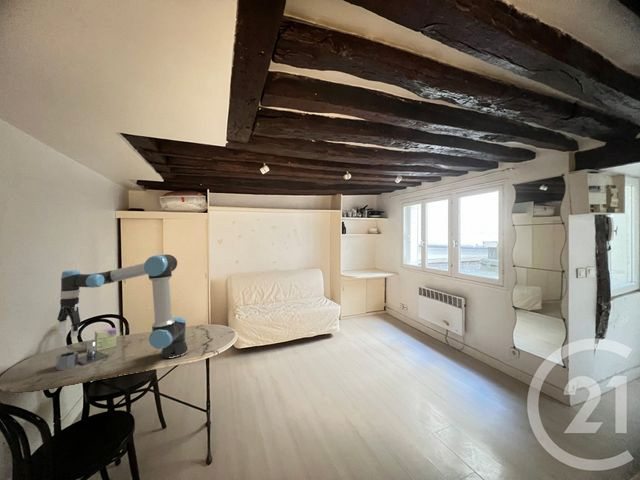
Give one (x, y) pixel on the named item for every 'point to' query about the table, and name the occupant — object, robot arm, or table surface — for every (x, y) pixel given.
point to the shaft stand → (91, 354)
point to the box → (105, 338)
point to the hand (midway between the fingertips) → (68, 334)
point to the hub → (66, 360)
